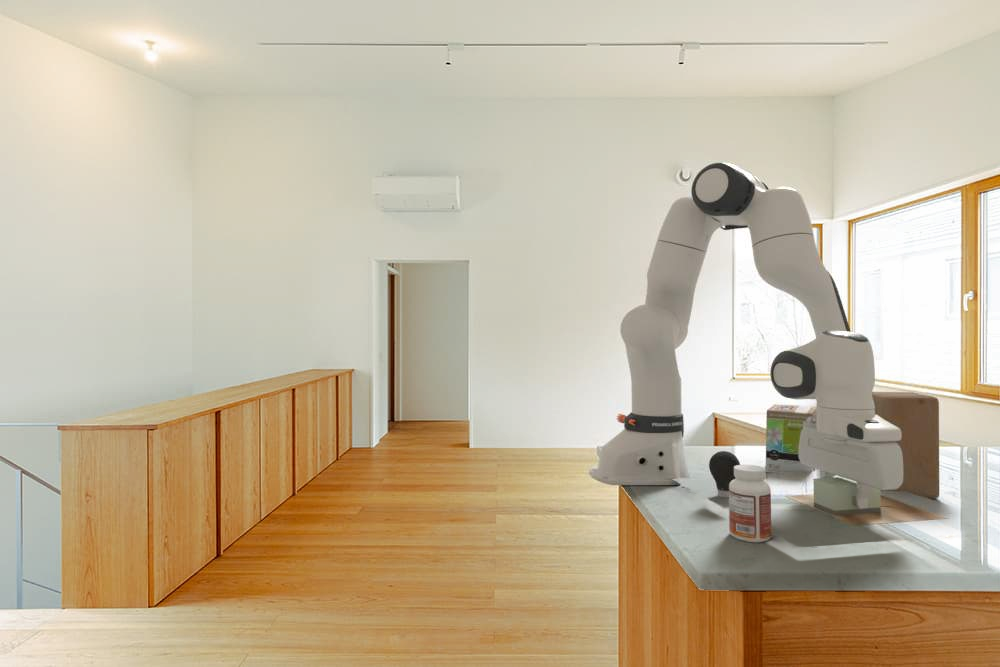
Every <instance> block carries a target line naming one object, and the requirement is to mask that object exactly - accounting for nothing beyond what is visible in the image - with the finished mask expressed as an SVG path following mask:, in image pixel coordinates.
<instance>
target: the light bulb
mask: <svg viewBox="0 0 1000 667" xmlns="http://www.w3.org/2000/svg"><path fill="white" fill-rule="evenodd" d="M736 465H741V462H740V460H739V459H738V457H737V456H736V455H735V454H733V453H732V452H730V451H727V450H726V451H725V450H721V451H717V452H716V453H713V455H712V456H711V458H710V459H709V463H708V468H709V472H710V474H711V476H712V478H713V480H714V481H715V485H716V488H717V489H716V490H717V496H718V497H721V498H725V499H726V498H727V499H729V484H730V482H731V481H732V480H734V479H735V476H734V466H736Z"/></svg>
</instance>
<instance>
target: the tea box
mask: <svg viewBox="0 0 1000 667" xmlns="http://www.w3.org/2000/svg"><path fill="white" fill-rule="evenodd" d="M808 417H815V418H817V406H812V405H811V406H810V405H797V404H777V403H776V404H773V405H772V406H771V407H769V408H768V409H767V410H766V421H765V422H766V423H765V424H766V428H765V429H766V430H765V431H766V432H765V433H766V434H765V437H766V438H765V440H766V441H765V473H769V474H783V473H784V474H785V473H800V472H801V473H803V472H810V473H811V472H815V470H816V468H813V467H809V466H806V465H803V464H801V462H800V460H799V456H798V454H799V441H800V434H801V431H802V429H803V422H804V421H805V420H806V419H808Z"/></svg>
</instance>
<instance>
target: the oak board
mask: <svg viewBox="0 0 1000 667" xmlns="http://www.w3.org/2000/svg"><path fill="white" fill-rule="evenodd" d="M785 497H786V498H788V499H791V500H793V501H795V502H798V503H800V504H803V505H805V506H808V507H810V508H813V509H814V510H817V511H820V512H822V513H824V514H827V515H829V516H832V517H833V518H837V519H838V520H841V521H843V522H845V523H848V524H851V525H852V526H867V525H881V524H892V523H893V524H895V523H907V522H919V521H933V520H947V519H950V518H949V517H947V516H945V515H944V516H943V515H941V514H938V513H935V512H932V511H929V510H927V509H923V508H921V507H920V508H919V507H917V506H914V505H911V504H909V503H905V502H902V501H899V500H897V499H896V500H895V499H894V498H890V497H887V496H884V495H882V494H881V512H874V513H861V514H847V515H833V514H830V513H828V512H825V511H823V510H821V509H818V508H816V507H814V493H812V494H810V493H809V494H796V495H795V494H794V495H793V494H792V495H785Z"/></svg>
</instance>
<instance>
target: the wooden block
mask: <svg viewBox="0 0 1000 667" xmlns="http://www.w3.org/2000/svg"><path fill="white" fill-rule="evenodd" d="M872 398H873V401H874V404H875V414H876V415H878V416H880V417H881V418H883V419H884V420H886V421H887V422H889V423H891V424H893V425H895V426H896V427H898V428H899V429H900V430H901V433H902V437H901V440H900V441H894V442H896V443H897V444H898V445H899V446H900V448H901V451H902V456H903V483H902V485H901V486H900V487H899V488H898V489H892V490H887V491H890V492H891V491H892V492H907V493H909V494H913V495H915V496H920V497H922V498H926V499H929V500H935V499H938V498H940V402H939V399H938V398H937V397H936V396H932V395H927V394H923V393H918V392H914V391H913V392H912V391H872Z"/></svg>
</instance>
